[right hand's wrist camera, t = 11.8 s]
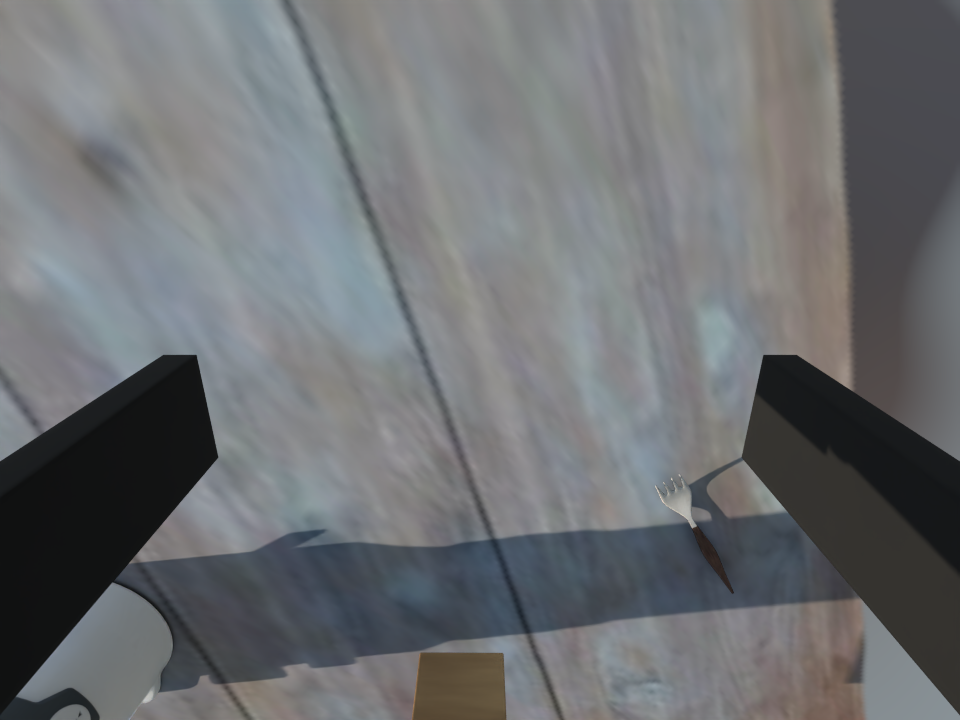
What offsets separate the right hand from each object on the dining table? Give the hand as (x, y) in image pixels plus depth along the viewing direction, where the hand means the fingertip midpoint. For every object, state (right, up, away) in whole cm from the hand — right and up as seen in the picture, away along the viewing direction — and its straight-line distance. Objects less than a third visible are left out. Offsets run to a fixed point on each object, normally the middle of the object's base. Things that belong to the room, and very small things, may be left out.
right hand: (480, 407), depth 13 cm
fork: (+20, -14, +35) cm, 43 cm away
